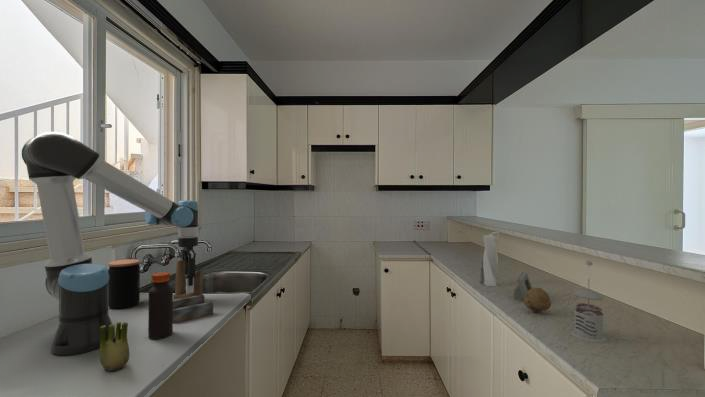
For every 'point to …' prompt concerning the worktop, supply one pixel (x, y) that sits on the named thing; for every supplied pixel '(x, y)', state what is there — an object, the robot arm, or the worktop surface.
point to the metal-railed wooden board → (191, 308)
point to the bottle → (160, 307)
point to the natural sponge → (537, 300)
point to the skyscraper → (490, 261)
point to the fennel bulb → (114, 347)
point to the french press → (588, 317)
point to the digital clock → (522, 286)
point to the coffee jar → (123, 283)
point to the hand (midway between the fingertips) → (188, 291)
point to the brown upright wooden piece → (181, 283)
